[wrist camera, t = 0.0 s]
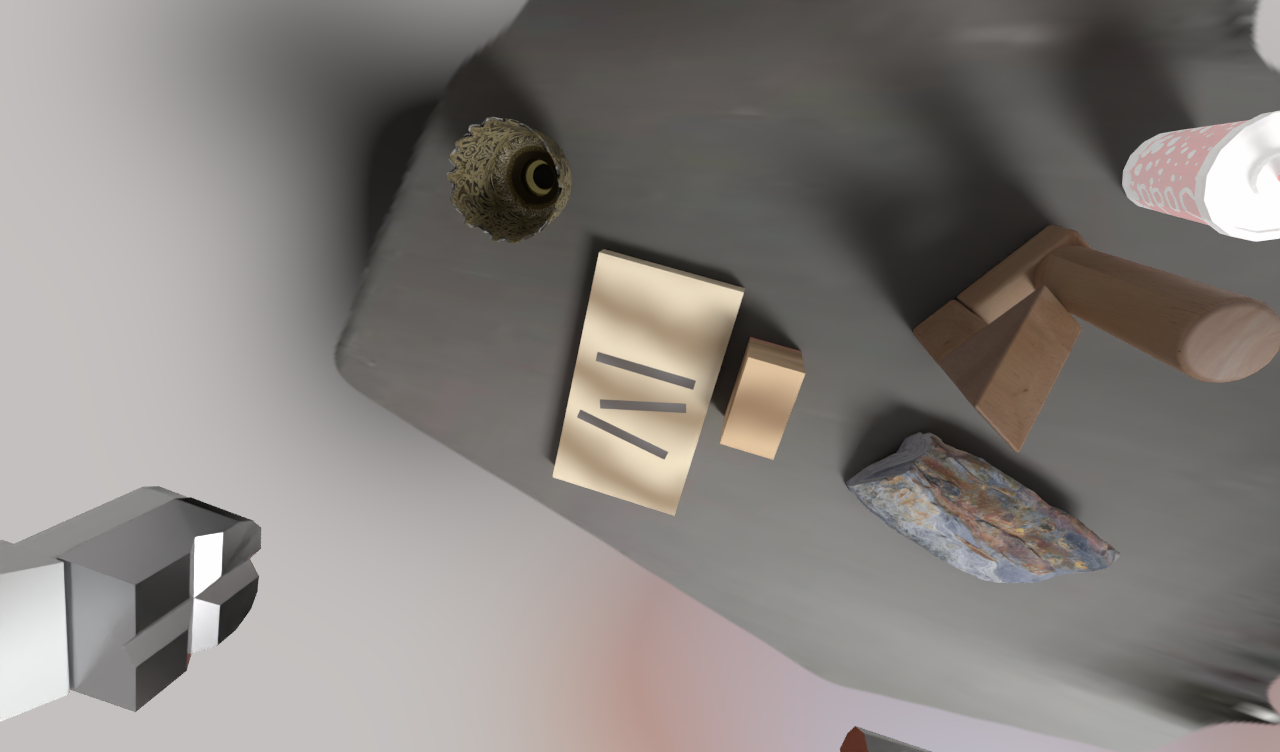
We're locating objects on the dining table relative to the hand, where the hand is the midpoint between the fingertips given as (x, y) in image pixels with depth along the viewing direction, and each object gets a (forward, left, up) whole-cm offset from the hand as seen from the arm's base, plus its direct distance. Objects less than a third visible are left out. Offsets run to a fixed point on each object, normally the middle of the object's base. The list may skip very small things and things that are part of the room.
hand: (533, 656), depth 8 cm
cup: (-1, -14, -39) cm, 41 cm away
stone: (+15, +24, -39) cm, 48 cm away
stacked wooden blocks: (-1, +19, -39) cm, 43 cm away
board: (+13, -3, -39) cm, 41 cm away
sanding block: (+10, +6, -39) cm, 41 cm away
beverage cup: (-11, +25, -39) cm, 48 cm away
